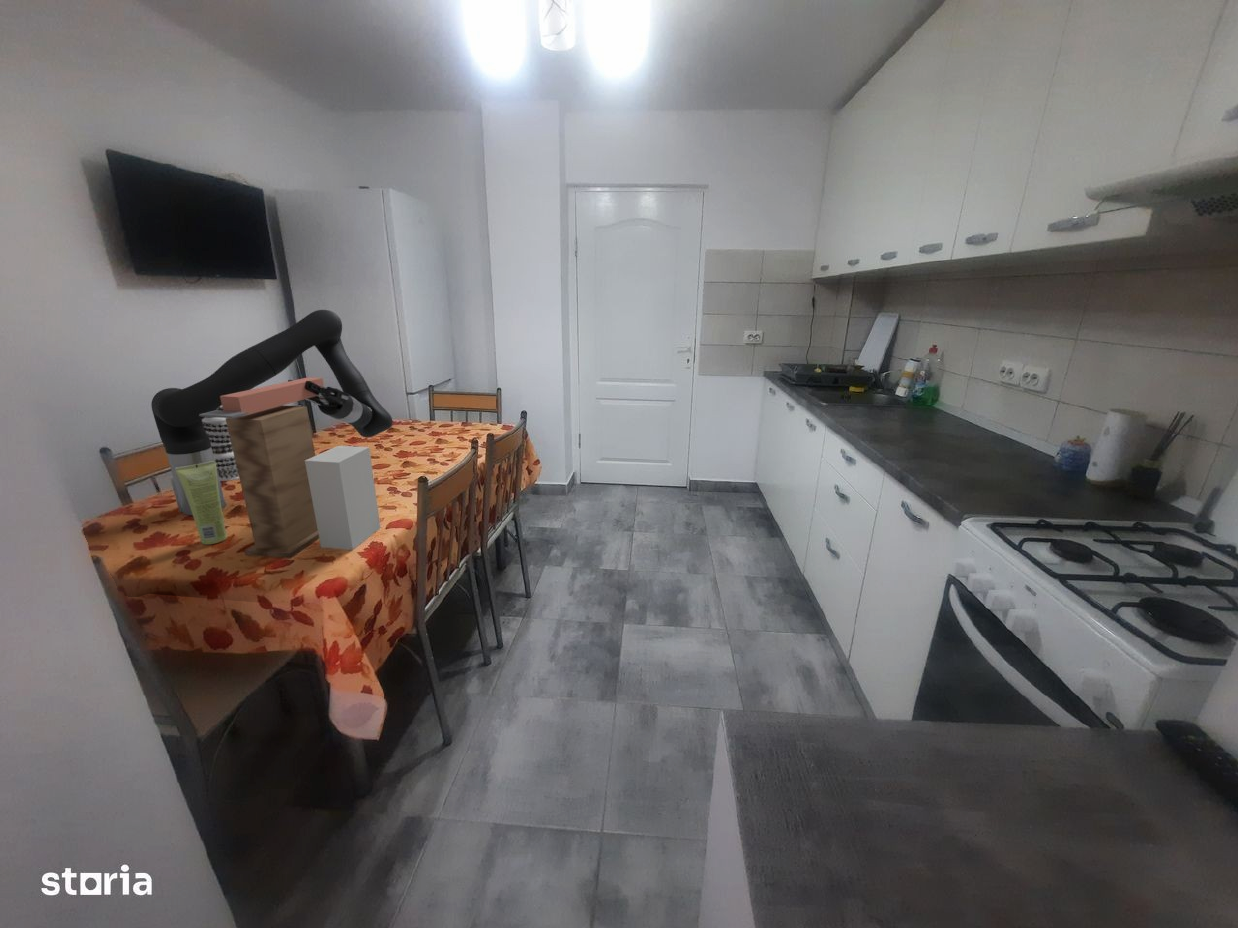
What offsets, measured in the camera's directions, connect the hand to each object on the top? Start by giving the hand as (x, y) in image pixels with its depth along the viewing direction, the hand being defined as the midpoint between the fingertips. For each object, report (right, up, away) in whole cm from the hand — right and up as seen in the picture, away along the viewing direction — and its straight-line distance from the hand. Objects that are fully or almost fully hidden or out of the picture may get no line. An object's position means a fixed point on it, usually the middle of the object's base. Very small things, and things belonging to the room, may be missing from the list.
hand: (298, 384), depth 118 cm
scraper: (-1, -6, -7) cm, 9 cm away
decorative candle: (-49, -24, +40) cm, 68 cm away
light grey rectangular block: (+11, -38, +4) cm, 40 cm away
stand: (-2, -38, +2) cm, 38 cm away
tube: (-20, -38, 0) cm, 43 cm away
